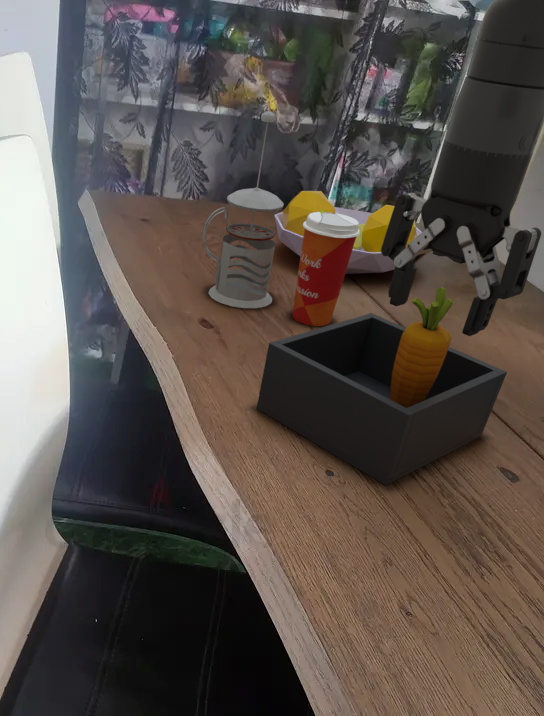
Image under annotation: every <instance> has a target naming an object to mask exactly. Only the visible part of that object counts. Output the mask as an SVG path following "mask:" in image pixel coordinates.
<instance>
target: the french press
mask: <svg viewBox="0 0 544 716" xmlns="http://www.w3.org/2000/svg"><path fill="white" fill-rule="evenodd" d="M260 119H261V121H262V122H264V123H266V125H265V131H264V138H263V144H262V151H261V155H260V157H261V158H260V163H259V169H258V170H259V171H258V175H257V182H256V187H253V188H252V187H251V188H243V189H239V190H235V191H234V192H232V193H230V194H229V195H227V197H226V200H227V201H226V202H227V203H228V204H229V205H230V206H233V207H235V208H237V209H242V210H246V211H251V212H252V214H251V221H250V222H236V223H231V224H228V225H227V226H226V227H225V230H226V232H227V234H224V235H223V237H222V244H221V249H220V257H219V256H216V255H215V254H213V253H212V252H211V251H210V249H209V248H208V245H207V241H206V237H207V231H208V229H209V226H210V224H211V222H212V221H213V219H214V220H215V218H216V217H217V216H218V215H220V214H222V213H223V214H224V220H225V221H227V220H228V217H229V216H228V215H229V212H228V209H227V207H224V206H222V207H220V208H218V209H215V210H214V211H213V212H212V213H211V214H210V215H209V216H208V218H207V219H206V221H205V224H204V226H203V231H202V232H203V233H202V241H203V246H204V250H205V252H206V254H207V256H209V258H210V259H211V260H213V261H214V262H216V263H217V268H216V276H215V283H214V285H213V286H212V287H210V289H209V291H208V295H209V297H210V298H211V299H213V300H214V301H216V302H218V303H220V304H223V305H226V306H230V307H234V308H240V309H260V308H266V307H267V306H269V305H270V304H272V302H273V297H272V296H271V295H270V294H269V292H268V288H269V283H270V278H271V277H270V276H271V272H272V271H271V270H272V267H273V266H272V265H273V260H274V254H275V249H276V243H275V242H274V240H272V239H274V238H275V236H276V231H274V230H273V229H271V227H267V226H264V225H260V224H256V223H253V222H254V215H255V212H261V213H262V212H263V213H271V212H272V213H274V212H278V211H281V210H282V209H283V207H284V202H283V201H282V200H281V199H280V198H279V197H278V196H277V195H275V194H274V193H272V192H270V191H268V190H265V189H261V188H260V187H259V184H260V178H261V171H262V165H263V159H264V152H265V146H266V140H267V133H268V127H269V123H275V122H276V114H275V112H273V111H271V110H270V111H269V110H268V111H264V112H263V113H262V115H261V118H260ZM236 241H240V242H245V243H246V244H248V245H249V246H251V247H252V248H254V249H250V248H248V247H247V246H245V245H242V244H235V245H232V244H231V243H232V242H236ZM236 258H237V259H236ZM234 259H235V260H234ZM232 267H237V268H232ZM240 268H242V269H240Z"/></svg>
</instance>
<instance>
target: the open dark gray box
mask: <svg viewBox="0 0 544 716" xmlns="http://www.w3.org/2000/svg"><path fill="white" fill-rule="evenodd" d="M406 328H407V327H404V326H402V325H400V324H398V323H395V322H394V321H390V320H389V319H386V318H384V317H381V316H379V315H377V314H375V313H372V312H370V313H366V314H364V315H363V314H362V315H360V316H356V317H353V318H350V319H347V320H343V321H339V322H336V323H332V324H328V325H324V326H321V327H318V328H315V329H312V330H308V331H305V332H302V333H299V334H295V335H291V336H288V337H284V338H282V339H277V340H273V341H271V342H269V343H268V346H267V351H266V357H265V362H264V367H263V372H262V379H261V385H260V388H259V394H258V399H257V403H256V410H258V411H259V412H261V413H263V414H265V415H267V416H268V417H270V418H271V419H273V420H275V421H277V422H278V423H280V424H282V425H283V426H285V427H286V428H289V429H290V430H292V431H293V432H295V433H297V434H298V435H300V436H302V437H303V438H305V439H307V440H309V441H310V442H311V443H313V444H315V445H317V446H319V447H320V448H322V449H324V450H325V451H327V452H329V453H330V454H332V455H333V456H336V457H337V458H338V459H341V460H342V461H344V462H345V463H347V464H349V465H351V466H352V467H354V468H356V469H357V470H358V471H360V472H362V473H364V474H366V475H367V476H369V477H371V478H372V479H373V480H375V481H378V482H379V483H381V484H383V486H388V485H390V484H392V483H394V482H395V481H398V480H400V479H402V478H403V477H405V476H407V475H410V474H411V473H413V472H415V471H417V470H419V469H421V468H423V467H425V466H427V465H428V464H431V463H433V462H435V461H436V460H439V459H441V458H442V457H444V456H446V455H448V454H450V453H452V452H453V451H456V450H458V449H460V448H461V447H464V446H465V445H468V444H470V443H471V442H473V441H475V440H477V439H479V438H481V437H482V435H483V433H484V430H485V428H486V426H487V423H488V421H489V418H490V416H491V413H492V410H493V407H494V406H495V403H496V402H497V401H496V400H497V398H498V396H499V393H500V391H501V388H502V386H503V383H504V381H505V379H506V376H507V374H508V372H507V371H506V370H504V369H502V368H499V367H496V366H495V365H492V364H490V363H488V362H485V361H483V360H480V359H479V358H476V357H474V356H472V355H470V354H467V353H464V352H463V351H459V350H458V349H455V348H453V347H451V346H449V348H448V351H447V354H446V356H445V359H444V362H443V364H442V367H441V369H440V371H439V374H438V376H437V378H436V380H435V382H434V384H433V386H432V387H431V389H430V391H429V393H428V394H427V396H426V398H425V399H424V401H422V402H420V403H417V404H415V405H413V406H410V407H408V408H405V407H403V406H401V405H400V404H398V403H396V402H394V401H392V400H391V399H390V393H391V381H392V372H393V367H394V363H395V359H396V354H397V351H398V347H399V343H400V340H401V336H402V334H403V332H404V331H405V329H406Z"/></svg>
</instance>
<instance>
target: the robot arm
mask: <svg viewBox="0 0 544 716" xmlns="http://www.w3.org/2000/svg"><path fill="white" fill-rule="evenodd" d="M543 126H544V0H493V1H491V3H490V4H489V5H488V7H487V9H486V11H485V13H484V15H483V17H482V19H481V23H480V26H479V30H478V32H477V36H476V40H475V43H474V47H473V49H472V53H471V57H470V60H469V64H468V68H467V70H466V75H465V77H464V80H463V83H462V85H461V87H460V91H459V93H458V96H457V97H456V100H455V103H454V104H453V108H452V111H451V115H450V119H449V120H448V123H447V126H446V132H445V135H444V139H443V143H442V146H441V148H440V153H439V157H438V159H437V164H436V166H435V170H434V174H433V178H432V181H431V185H430V188H431V191H430V195H429V197H428V198H423V197H422V195H421V193H420V192H407V193H403V194H400V195H398V196H397V198H396V201H395V203H394V205H393V206H394V209H393V213H392V216H391V219H390V222H389V225H388V228H387V231H386V235H385V238H384V241H383V244H382V247H381V253H382V255H383V256H388V257H389V258H390V259H391V260H393V262H394V265H395V269H394V270H393V274H392V278H391V280H390V284H389V288H388V290H387V291H388V292H387V293H388V298H389V304H390V305H392V306H394V307H400V306H402V305H403V306H404V305H405V304H407V302H408V300H409V296H410V293H411V290H412V287H413V283H414V279H415V276H416V273H417V270H418V268H417V267H415V264H417V263H418V262H419V261H420V260H422V259H423V258H424V257H425V256H427V255H428V254H430V253H432V255H435V256H437V257H447V258H448V259H449V260H451V261H453V262H454V263H458V264H460V265H461V264H466V268H467V269H466V270H467V272H468V275H469V276H470V277H471V278H472V280H473V282H474V288H475V290H476V295H477V296H474V297H473V300H472V303H471V305H470V308H469V311H468V314H467V317H466V319H465V323H464V325H463V327H462V330H461V332H462V333H461V334H463V335H465V336H468V337H472V336H475V335H477V334H479V333H480V332H482V331H484V330H486V328H487V327H488V325H489V323H490V321H491V317H492V315H493V312H494V310H495V307H496V304H497V302H498V300H499V299H500V300H507V299H511V298H513V297H516V296H520V295H521V294H523V291H524V290H525V287H526V282H527V280H528V278H529V274H530V271H531V267H532V264H533V261H534V259H535V255H536V253H537V248H538V246H539V243H540V240H541V238H542V237H541V236H542V231H541V229H540V228H538V227H537V226H536V227H529V228H524V227H518V226H514V225H512V224H511V212H512V210H513V209H514V206H515V204H516V202H517V200H518V196H519V194H520V191H521V188H522V185H523V183H524V179H525V178H526V177H525V176H526V174H527V171H528V168H529V166H530V163H531V160H532V157H533V155H534V151H535V148H536V146H537V143H538V142H539V141H538V140H539V138H540V135H541V132H542V130H543ZM420 216H421V219H422V224H423V228H424V230H423V231H421V232H422V233H421V234H420V235H418V236H417V237H416V238H415V239H414V240H413V241H411V242H410V243H409V244H408V247H407V248H406V244H407V241H408V238H409V235H410V232H411V229H412V226H413V223H414V220H415V221H416V220H417V219H419V217H420ZM504 240H505V242H506V246H505V249H506V251H507V253H508V256H507V260H506V263H505V265H504V269H503V272H502V276H501V273H500V267H501V263H500V259H499V254H498V252H497V251H498V250H497V248H496V246H497V245H499V244H500V243H501V242H503V241H504Z"/></svg>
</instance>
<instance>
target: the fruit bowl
mask: <svg viewBox="0 0 544 716" xmlns="http://www.w3.org/2000/svg"><path fill="white" fill-rule="evenodd" d="M394 206H395V205H391V204H385V205H383V206H382V207H380V208H379V209H377V210H375V212H373V213H372V212H367V211H361V210H355V209H349V208H344V207H343V208H342V207H338V206H334V205H333V204H332V203H331V201H330V200H329V199H328V198H327V196H326V195H325V194H324V193H323V191H322V190H301V191H300V192H298V194H296V195H295V196H294V197H293V198H292V199H291V200H290V202H289V203H288V204H287V205H286V207H285V208H284V210H282V211H280V212H278V213H276V214H274V221H275V225H276V226H275V227H276V230H277V236H278V241H280V242H281V243H282V244H283V245H285V246H286V247H287V248H288V249H290V250H291V251H293V253H295V254H296V255H297V256H299V257H301V250H302V243H303V236H304V230H305V228H304V227H303V223H304V222H305V221H306V220H307V217H308V215H309V214H310V213H314V212H320V213H324V212H327V213H332V214H335V213H337V214H342V215H346V216H349V217H352V218H354V219H356V220H357V221H358V223H359V226H358V229H359V232H360V234H359V235H358V236H356V240H355V243H354V246H353V250H352V253H351V256H350V260H349V263H348V266H347V270H346V273H345V275H350V274H351V275H354V274H356V275H357V274H381V273H385V272H390V271H394V270H395V265H394V262H393V260H391V259H390V258H389V257H388V256H383V255H382V253H381V247H382V244H383V241H384V238H385V235H386V231H387V228H388V225H389V222H390V219H391V216H392V213H393V209H394ZM321 215H322V214H321ZM422 232H423V231H421V230H420V228H418V227H417V225H416V219H415V220H414V223H413V226H412V229H411V232H410V235H409V238H408V241H407V244H406V248H407V247H408V244H409V243H410V242H411V241H413V240H414V239H415V238H416V237H417V236H418V235H420V234H421V233H422Z"/></svg>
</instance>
